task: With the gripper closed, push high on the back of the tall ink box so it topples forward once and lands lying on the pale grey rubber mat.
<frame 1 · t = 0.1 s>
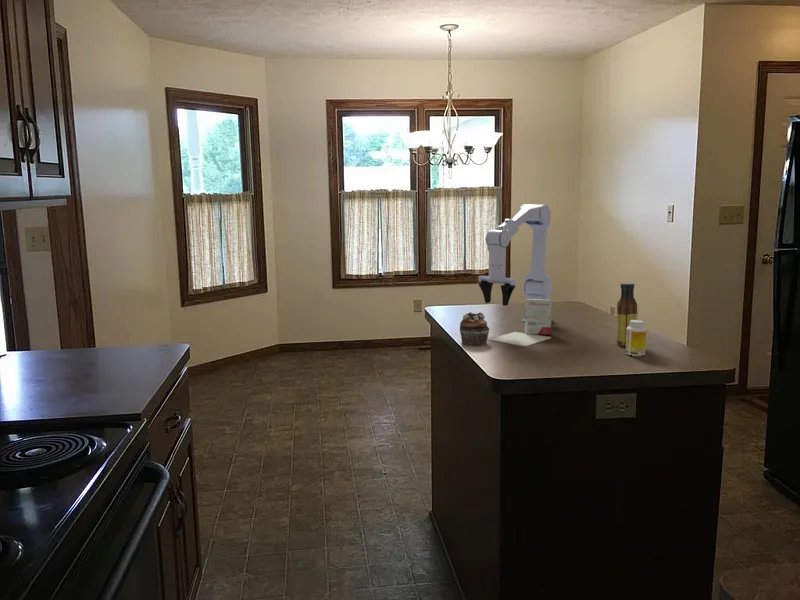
hand: (496, 304, 224), 10 cm above the countertop, fingers open, 7 cm apart
cupcake: (474, 344, 209), on the countertop
sauce bottle: (625, 345, 205), on the countertop
supplement bottle: (635, 355, 193), on the countertop
ink box: (537, 333, 223), on the countertop, touching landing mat
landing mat: (520, 339, 215), on the countertop
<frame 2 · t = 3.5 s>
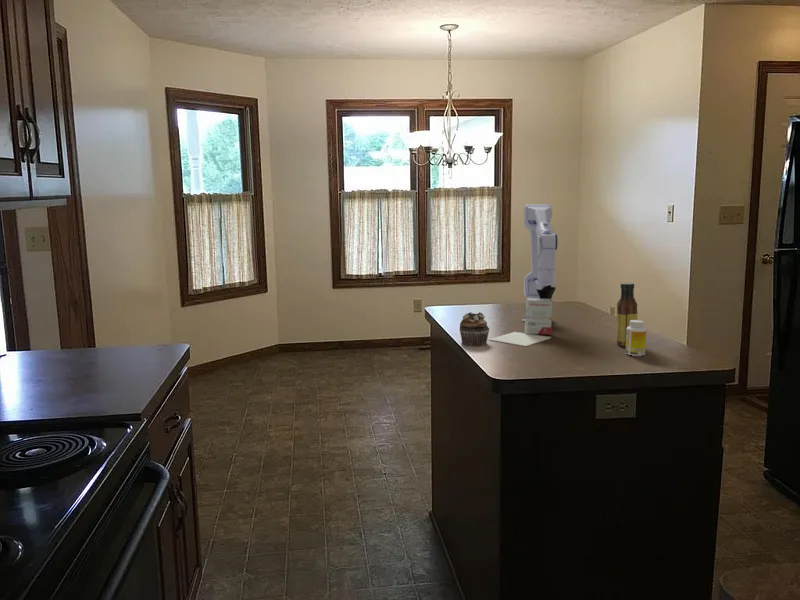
hand: (545, 307, 225), 8 cm above the countertop, fingers closed
ink box: (537, 333, 223), on the countertop, touching gripper, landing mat
everything else where it was.
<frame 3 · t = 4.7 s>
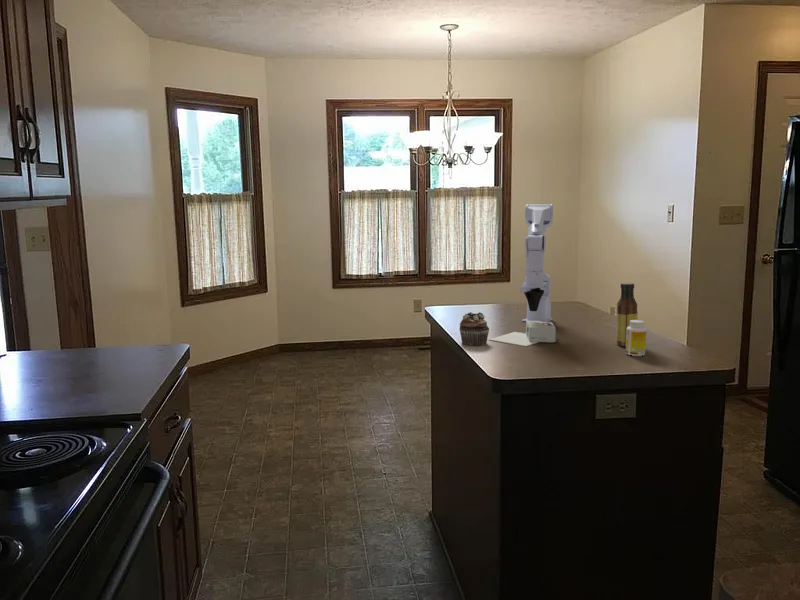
hand: (533, 310, 219), 8 cm above the countertop, fingers closed
ink box: (538, 327, 220), point 3 cm above the countertop, touching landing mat
everything else where it was.
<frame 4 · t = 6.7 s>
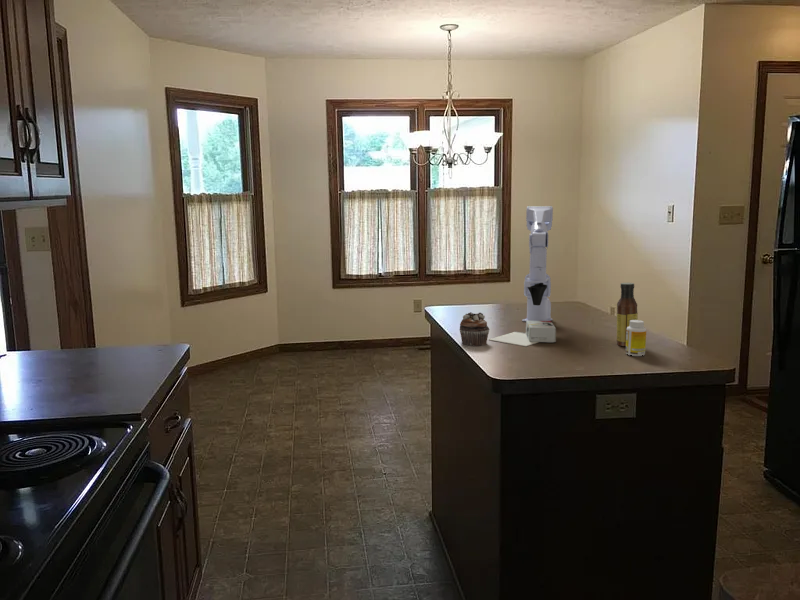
hand: (536, 305, 228), 9 cm above the countertop, fingers closed
nothing on the countertop moved.
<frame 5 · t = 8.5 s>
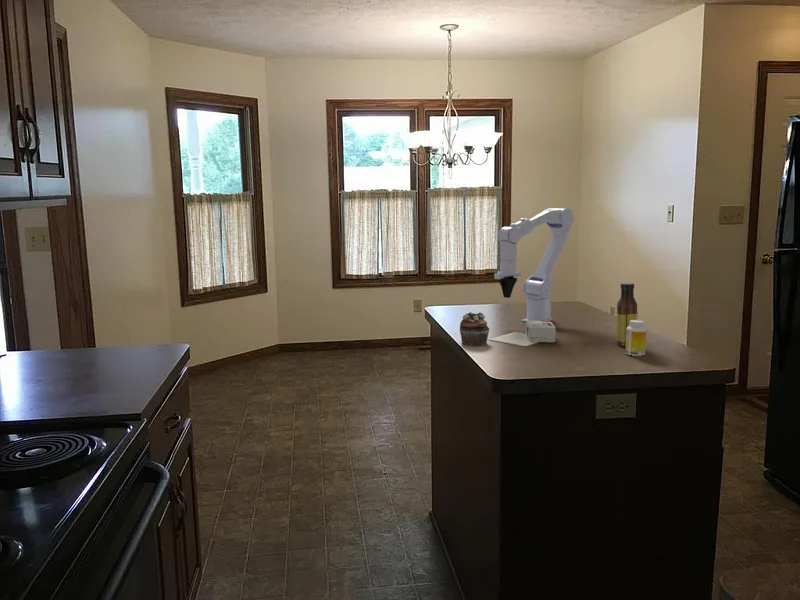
hand: (507, 297, 236), 10 cm above the countertop, fingers closed
nothing on the countertop moved.
at the end: ink box tilted 90°; ink box touching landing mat; ink box inside the target area (5.5 cm from its centre), point 2.7 cm above the countertop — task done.
